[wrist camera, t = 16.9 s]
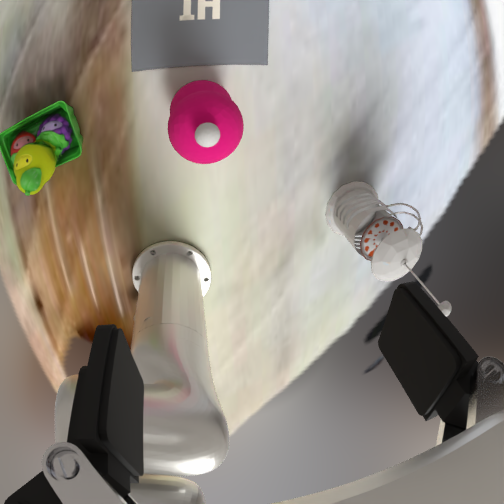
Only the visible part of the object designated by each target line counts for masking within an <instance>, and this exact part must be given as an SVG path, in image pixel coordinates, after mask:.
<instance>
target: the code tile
mask: <svg viewBox="0 0 504 504" xmlns="http://www.w3.org/2000/svg"><path fill="white" fill-rule="evenodd" d="M268 25H269V0H132V21H131V53H132V72H134V71H141V70H150V69H159V68H169V67H181V66H198V65H235V64H238V65H268Z"/></svg>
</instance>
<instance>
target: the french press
mask: <svg viewBox="0 0 504 504" xmlns="http://www.w3.org/2000/svg"><path fill="white" fill-rule="evenodd" d="M379 204H381V205H382V206H379ZM395 205H406V206H408V207H410V208H412V209H413V210H415V211H416V212H417V214H418V217H419V219H418V218H417V217H416V216H415V215H414V214H411V213H407V212H396V213H393V212H392V211H391V210H390V209H389V208H387V207H391V206H395ZM385 210H387V211H389V212H391V213H392V214H389V213H388V212H386V211H385ZM401 213H405V214H409V215H411V216H414V217H415V218H416V219H417V220H418V221H419V222H418V225H417V227H416V228H415V229H412V228H411V227H408V229H403V226H402V224H401V222H400V221H399V220H398V218H397V216H396V215H395V214H401ZM391 215H394V216H395V217H396V218H397V219H396V218H394V217H392V216H391ZM325 216H326V220H327V224H328V226H329V227H330V228H331V229H332V231H333V232H334V233H337V234H339V235H342V236H345V237H346V238H347V240H348V241H349V242H350V243H351V244H352V246H353V247H354V248H355V249H356V251H357V252H358V253H359V254H361V255H362V256H364V257H365V259H367V260H370V261H371V268H372V273H373V274H374V276H375V277H376V279H378V280H381V281H384V282H386V281H394V280H396V279H398V278H400V277H402V276H404V275H405V274H406V273H407V272H409V271H410V272H411V273H412V274H413V275H414V276H415V277H416V278H417V280H418V281H419V282H420V283H421V284H422V285H423V287H424V288H425V289H426V290H427V291H428V292H429V294H430V295H431V296H432V297H433V298H434V300H435V301H436V302H437V303H438V304H439V306H438V308H439V309H440V310H441V311H442V313H443V314H444V315H445V316H446V317H447V316H448V315H449V314H450V312H451V304H450V303H449V302H448V301H444V302H442V303H441V304H440V303H439V302H438V300H437V299H436V298H435V297H434V296H433V294H432V293H431V292H430V291H429V290H428V289H427V287H426V286H425V285H424V284H423V283H422V282H421V280H420V279H419V278H418V277H417V276H416V275H415V274H414V272H413V271H412V270H411V269H412V267H413V266H414V265H415V263H416V262H417V261H418V259H419V256H420V254H421V251H422V239H421V237H420V236H421V234H422V230H423V226H422V223H421V218H420V214H419V212H418V211H417V210H416V209H415V208H414V207H412V206H410V205H408V204H404V203H396V204H391V205H385V204H384V203H382V202H381V201H380V200H379V199H378V195H377V193H376V192H375V190H374V188H373V187H372V186H370V185H369V184H367V183H365V182H356V181H353V182H350V183H348V184H345V185H342V186H341V187H340V188H339V189H338V190H337V191H336V192H334V193H333V195H332V196H331V198H330V200H329V202H328V203H327V208H326V214H325ZM419 225H421V232H420V234H419V233H417V232H416V230H417V229H418V227H419ZM359 235H362V237H355V236H359ZM354 239H359V240H361V241H354ZM354 243H360V245H356V244H354ZM355 246H357V247H360V248H361V249H358V248H356V247H355Z"/></svg>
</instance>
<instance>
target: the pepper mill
mask: <svg viewBox="0 0 504 504" xmlns="http://www.w3.org/2000/svg"><path fill="white" fill-rule="evenodd" d="M168 134H169V139H170V142H171V144H172V146H173V147H174V149H175V150H176V151H177V152H178V153H179V154H180V155H181V156H182V157H183V158H185V159H187V160H189V161H192V162H195V163H200V164H210V163H214V162H217V161H220V160H222V159H224V158H226V157H227V156H229V155H230V154H231V153H232V152H233V151H234V150H235V149H236V147H237V146H238V144H239V142H240V140H241V138H242V134H243V118H242V115H241V112H240V110H239V108H238V106H237V105H236V104H235V103H234V102H233V101H232V100H231V97H230V95H229V94H228V92H227V91H226V90H225V89H224V88H223V87H222V86H220V85H219V84H217V83H215V82H212V81H207V80H198V81H193V82H191V83H188V84H186V85H185V86H183V87H182V88H181V89H180V90H179V91H178V92H177V93H176V94H175V96H174V98H173V99H172V102H171V106H170V117H169V121H168Z"/></svg>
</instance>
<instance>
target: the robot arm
mask: <svg viewBox="0 0 504 504" xmlns="http://www.w3.org/2000/svg"><path fill="white" fill-rule="evenodd" d="M153 250H154V251H153ZM189 251H190V252H189ZM132 279H133V284H134V286H135V288H136V290H137V291H138V293H139V294H138V301H137V307H136V314H135V315H134V318H133V319H134V321H135V322H134V329H133V337H132V344H131V351H130V348H129V346H128V343H127V341H126V338H125V336H124V333H123V331H122V329H121V328H119V329H117V327H116V326H115V325H114V324H112V325H98V326H97V328H96V331H95V335H94V339H93V343H92V348H91V352H90V357H89V362H88V366H83V367H82V368H81V369H80V371H79V375H72V376H69V377H67V378H66V379H65V380H64V381H63V382H62V383H61V385H60V387H59V389H58V393H57V397H56V403H55V440H56V444H54V445H52V446H51V447H49V448H48V449H47V450H46V452H45V454H44V455H43V459H42V470H43V471H42V472H40V473H39V474H38V475H37V476H35V477H34V478H33V479H31V480H30V481H29V482H28V483H26V484H25V485H24V486H22V487H21V488H20V489H19V490H17V491H16V492H15V493H13V494H12V495H11V496H10V497H8V499H7V500H6V501H5V503H4V504H206V502H205V497H204V494H203V492H202V490H201V488H200V487H199V486H198V485H197V484H196V483H194V482H193V481H190V480H188V479H185V478H181V477H176V476H192V475H200V474H204V473H207V472H210V471H212V470H214V469H216V468H217V467H218V466H219V465H220V464H221V463H222V462H223V461H224V459H225V457H226V455H227V453H228V449H229V431H228V425H227V421H226V418H225V415H224V412H223V410H222V407H221V404H220V402H219V399H218V396H217V393H216V390H215V386H214V383H213V378H212V373H211V367H210V360H209V351H208V341H207V332H206V322H205V312H204V301H203V296H204V295H205V294H206V292H207V291H208V289H209V286H210V284H211V270H210V265H209V263H208V261H207V259H206V258H205V257H204V255H203V254H202V253H201V252H200V251H198V250H197V249H196V248H194V247H192V246H190V245H188V244H185V243H182V242H176V241H165V242H159V243H156V244H153V245H151V246H149V247H147V248H146V249H145V250H143V251H142V252H141V253H140V254H139V256H138V257H137V258H136V261H135V263H134V266H133V270H132ZM378 345H379V348H380V350H381V352H382V354H383V355H384V357H385V358H386V360H387V362H388V363H389V365H390V366H391V368H392V370H393V371H394V373H395V375H396V377H397V378H398V380H399V382H400V383H401V385H402V387H403V388H404V390H405V392H406V393H407V395H408V397H409V398H410V400H411V402H412V404H413V405H414V407H415V409H416V410H417V412H418V414H419V415H421V416H423V417H424V419H425V420H426V421H427V420H429V419H432V418H434V417H436V416H437V415H439V416H440V418H441V421H440V426H439V432H438V437H437V442H436V446H435V447H433V448H432V449H430V450H427V451H425V452H423V453H421V454H420V455H417V456H415V457H413V458H411V459H409V460H406V461H404V462H402V463H400V464H398V465H395V466H393V467H390V468H388V469H386V470H383V471H381V472H378V473H375V474H373V475H370V476H367V477H365V478H362V479H359V480H357V481H354V482H351V483H348V484H345V485H341V486H338V487H335V488H332V489H329V490H325V491H322V492H318V493H315V494H311V495H307V496H303V497H299V498H295V499H291V500H287V501H282V502H277V503H272V504H504V364H503V362H501V361H500V360H498V359H497V358H494V357H484V358H483V359H481V360H480V362H479V363H478V362H477V361H476V360H477V358H478V355H477V354H476V352H475V351H474V350H473V349H472V347H471V346H470V345H469V344H468V342H467V341H466V340H465V339H464V337H463V336H462V335H461V334H460V333H459V331H458V330H457V329H456V328H455V327H454V325H453V324H452V323H451V322H450V321H449V320H448V318H447V317H446V316H445V315H444V314H443V313H442V311H441V310H440V309H439V308H438V307H437V306H436V305H435V303H434V302H433V301H432V300H431V299H430V298H429V297H428V296H427V294H426V293H425V292H424V291H423V290H422V289H421V288H420V287H419V286H418V285H417V284H416V283H415V282H408V283H403V284H400V285H399V286H398V287H397V289H396V290H395V291H394V294H393V298H392V301H391V304H390V307H389V310H388V314H387V317H386V320H385V323H384V326H383V329H382V332H381V335H380V338H379V341H378Z"/></svg>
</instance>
